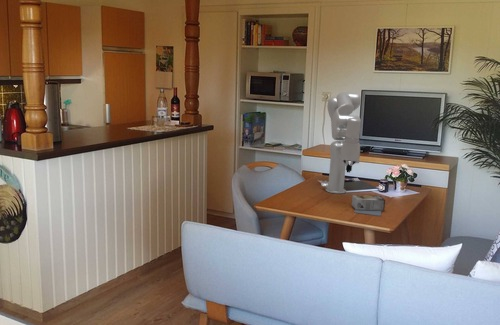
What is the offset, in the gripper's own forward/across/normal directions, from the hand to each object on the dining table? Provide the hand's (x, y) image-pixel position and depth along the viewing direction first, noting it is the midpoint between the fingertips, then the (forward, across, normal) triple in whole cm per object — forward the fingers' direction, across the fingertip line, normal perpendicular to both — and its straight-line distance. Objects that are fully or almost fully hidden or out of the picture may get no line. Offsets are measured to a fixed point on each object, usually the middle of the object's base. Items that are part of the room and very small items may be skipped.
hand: (348, 171), depth 292 cm
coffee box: (+15, +6, -8) cm, 18 cm away
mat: (+18, +14, -9) cm, 25 cm away
